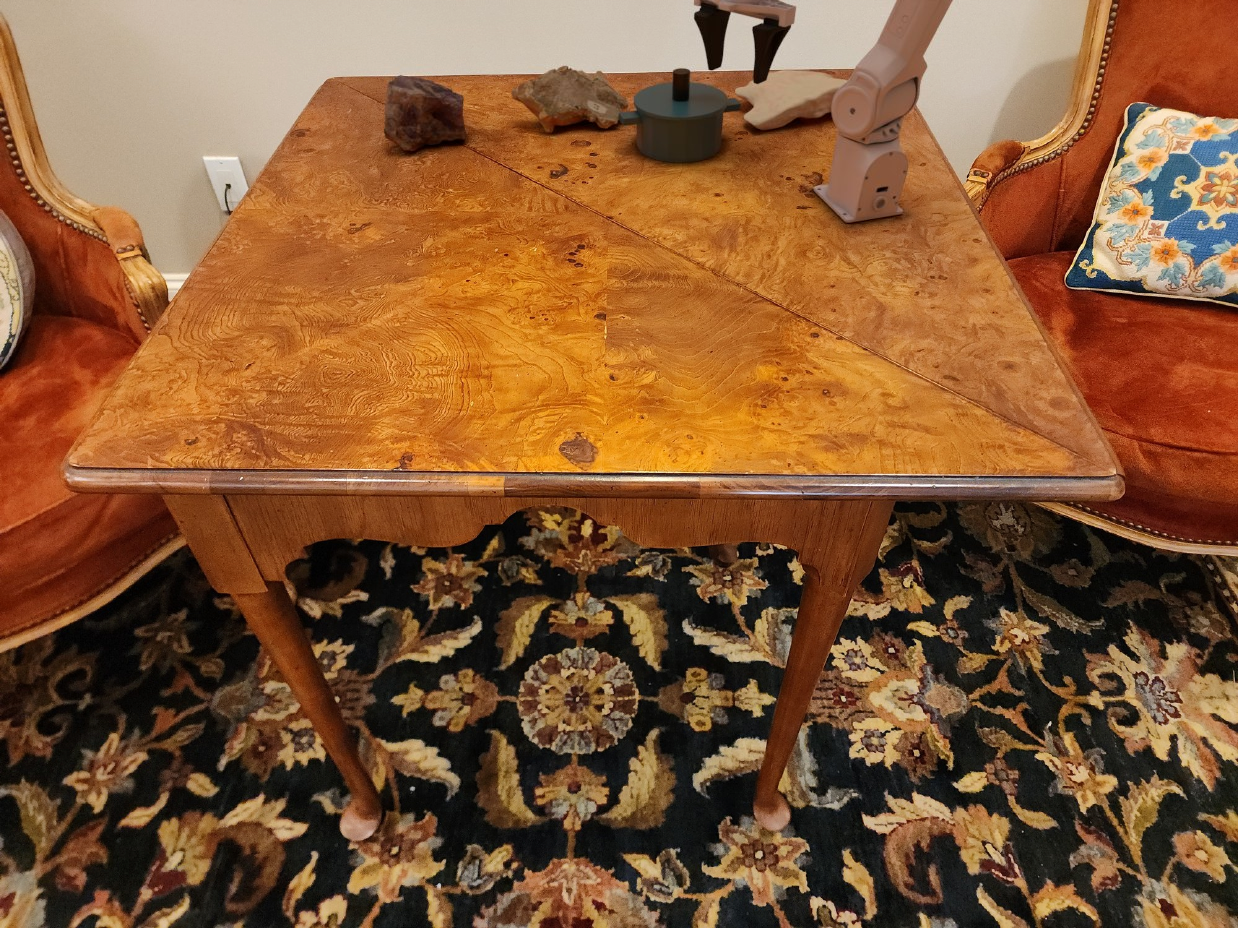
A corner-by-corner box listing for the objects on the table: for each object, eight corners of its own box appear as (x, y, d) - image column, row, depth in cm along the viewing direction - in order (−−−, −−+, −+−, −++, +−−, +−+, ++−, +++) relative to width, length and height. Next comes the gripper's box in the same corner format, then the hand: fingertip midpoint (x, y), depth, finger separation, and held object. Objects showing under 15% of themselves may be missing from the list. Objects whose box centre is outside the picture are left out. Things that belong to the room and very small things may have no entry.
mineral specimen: (558, 175, 119) (636, 122, 120) (558, 158, 112) (641, 102, 113) (510, 104, 118) (590, 51, 119) (507, 82, 111) (592, 27, 112)
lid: (741, 118, 104) (745, 81, 100) (650, 130, 101) (650, 94, 98) (707, 85, 113) (709, 50, 109) (622, 96, 110) (621, 61, 107)
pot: (750, 153, 109) (755, 111, 104) (633, 170, 105) (633, 127, 101) (719, 121, 117) (722, 80, 112) (609, 135, 113) (608, 94, 109)
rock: (468, 157, 112) (459, 128, 118) (469, 97, 106) (459, 70, 112) (386, 155, 108) (381, 126, 115) (381, 93, 102) (377, 65, 109)
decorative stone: (840, 55, 124) (888, 82, 113) (835, 88, 127) (881, 117, 116) (717, 70, 120) (754, 99, 109) (715, 104, 123) (751, 135, 113)
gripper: (680, -47, 94) (676, 70, 103) (777, -28, 87) (763, 96, 96) (716, -58, 97) (709, 57, 107) (812, -40, 90) (795, 81, 100)
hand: (736, 75), depth 102 cm, fingers open, 7 cm apart
